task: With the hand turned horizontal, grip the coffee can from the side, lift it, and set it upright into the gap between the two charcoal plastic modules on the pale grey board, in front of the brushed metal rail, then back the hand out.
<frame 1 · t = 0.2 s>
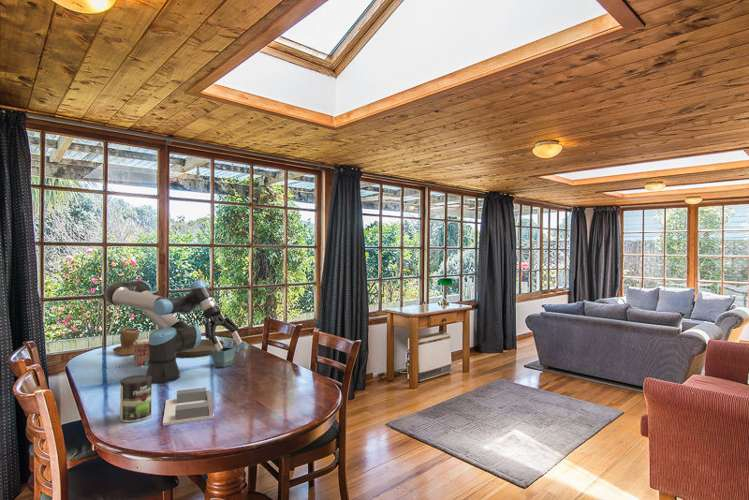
hand: (230, 346, 207), 15 cm above the table, tool tilted 35°, fingers open, 13 cm apart
module 2: (192, 410, 159), on the mounting board, point 3 cm above the table
metal rail: (209, 402, 170), on the mounting board, point 1 cm above the table
flower pot: (223, 366, 229), on the table
plant saucer: (197, 352, 259), on the table
module 1: (191, 395, 175), on the mounting board, point 3 cm above the table
tan printed box: (141, 362, 235), on the table
mounting board: (189, 409, 167), on the table
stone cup: (126, 354, 254), on the table
coffee can: (136, 417, 160), on the table
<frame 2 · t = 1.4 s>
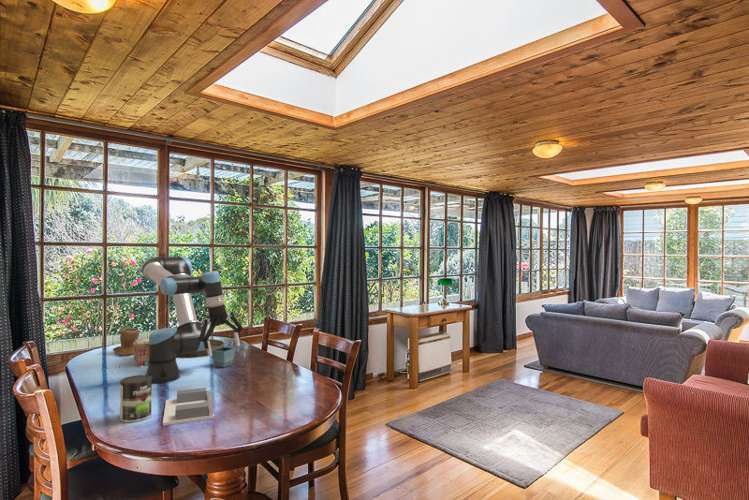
hand: (224, 350, 198), 15 cm above the table, tool pointing down, fingers open, 13 cm apart
nothing on the table moved.
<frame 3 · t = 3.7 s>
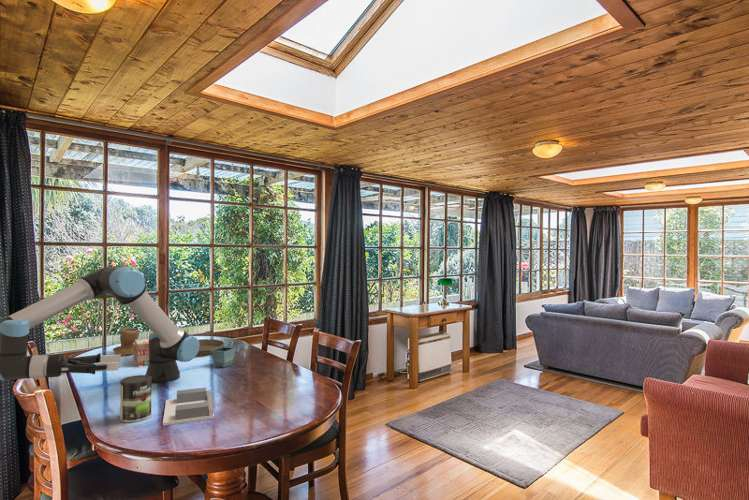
hand: (119, 362, 157), 21 cm above the table, tool horizontal, fingers open, 13 cm apart
nothing on the table moved.
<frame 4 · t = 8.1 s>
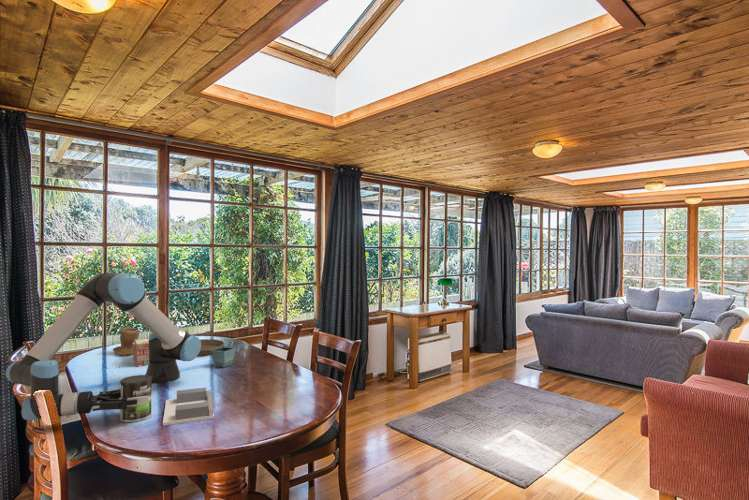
hand: (149, 395, 161), 8 cm above the table, tool horizontal, fingers closed on coffee can, 10 cm apart
coffee can: (136, 417, 160), on the table, touching gripper
when the fingers open (10 cm above the table, at t = 14.7 s): coffee can drops 1 cm, resting on mounting board.
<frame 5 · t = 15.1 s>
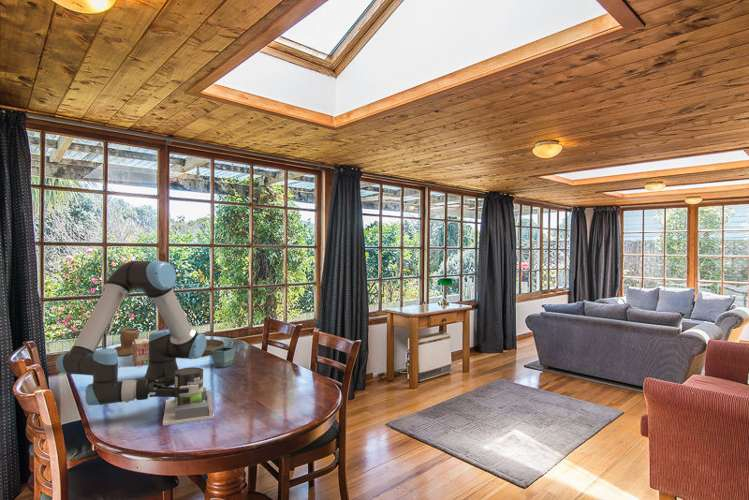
hand: (198, 383, 168), 10 cm above the table, tool horizontal, fingers open, 13 cm apart
coffee can: (188, 407, 167), point 1 cm above the table, touching mounting board
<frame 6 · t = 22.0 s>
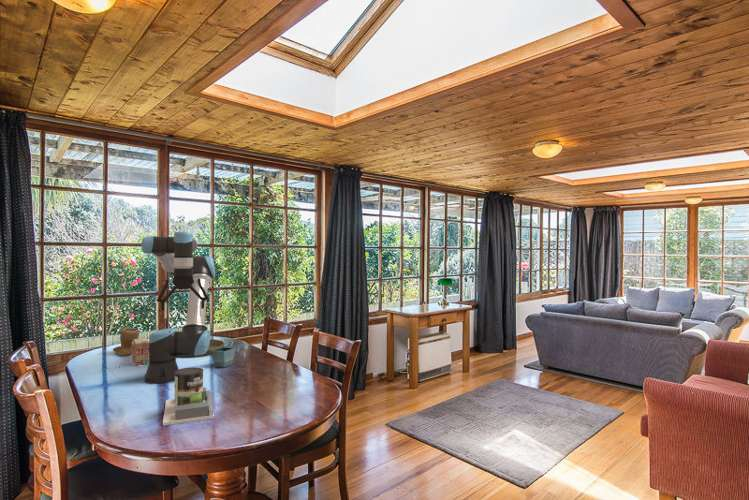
hand: (183, 317, 185), 33 cm above the table, tool pointing down, fingers open, 13 cm apart
at the end: coffee can 0.4 cm off-centre on the mounting board, point 0.8 cm above the mounting board's base; coffee can tilted 0°; the gripper is holding nothing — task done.
